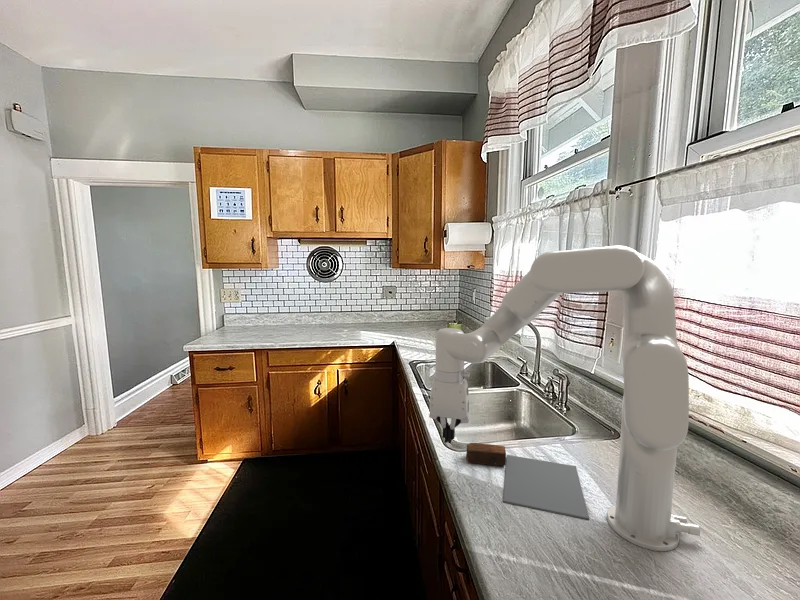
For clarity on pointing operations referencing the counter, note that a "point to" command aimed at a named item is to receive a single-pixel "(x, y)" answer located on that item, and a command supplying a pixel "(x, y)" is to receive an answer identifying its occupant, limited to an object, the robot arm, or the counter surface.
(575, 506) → the mat
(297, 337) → the counter surface
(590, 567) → the counter surface
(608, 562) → the counter surface
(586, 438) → the counter surface
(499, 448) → the brick
